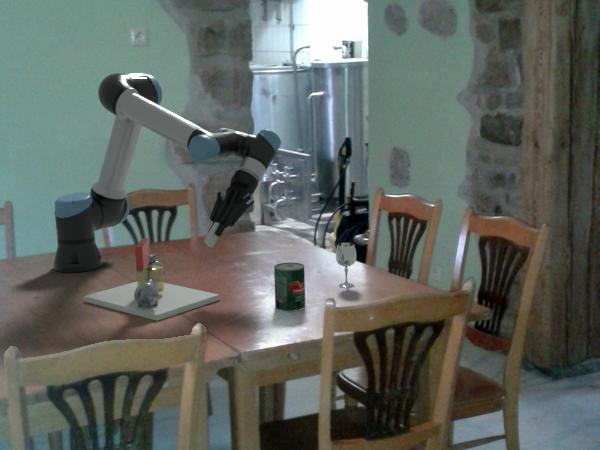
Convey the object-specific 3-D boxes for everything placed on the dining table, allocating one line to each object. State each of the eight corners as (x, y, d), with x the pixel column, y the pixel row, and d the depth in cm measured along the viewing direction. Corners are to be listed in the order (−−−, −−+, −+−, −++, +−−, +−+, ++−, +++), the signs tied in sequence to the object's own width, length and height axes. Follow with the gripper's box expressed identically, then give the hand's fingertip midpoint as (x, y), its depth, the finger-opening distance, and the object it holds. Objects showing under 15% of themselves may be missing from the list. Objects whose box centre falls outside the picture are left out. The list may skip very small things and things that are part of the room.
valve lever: (143, 260, 213) (141, 234, 212) (156, 260, 213) (155, 234, 212) (133, 275, 198) (131, 247, 196) (147, 274, 198) (145, 246, 196)
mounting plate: (84, 301, 215) (83, 296, 214) (146, 283, 231) (146, 278, 231) (157, 320, 196) (156, 315, 196) (219, 300, 213) (219, 294, 212)
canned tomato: (302, 311, 200) (301, 270, 198) (272, 311, 202) (271, 269, 199) (307, 303, 208) (306, 262, 206) (278, 302, 209) (277, 262, 207)
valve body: (142, 283, 226) (140, 253, 224) (167, 282, 226) (165, 252, 225) (133, 310, 200) (130, 275, 198) (160, 308, 201) (158, 274, 199)
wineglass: (355, 288, 220) (354, 246, 218) (334, 288, 221) (334, 246, 219) (357, 283, 226) (357, 242, 224) (338, 282, 227) (337, 242, 225)
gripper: (271, 186, 223) (232, 255, 214) (238, 183, 231) (199, 248, 222) (257, 170, 218) (217, 239, 209) (224, 167, 226) (184, 233, 217)
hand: (208, 244), depth 216 cm, fingers closed
